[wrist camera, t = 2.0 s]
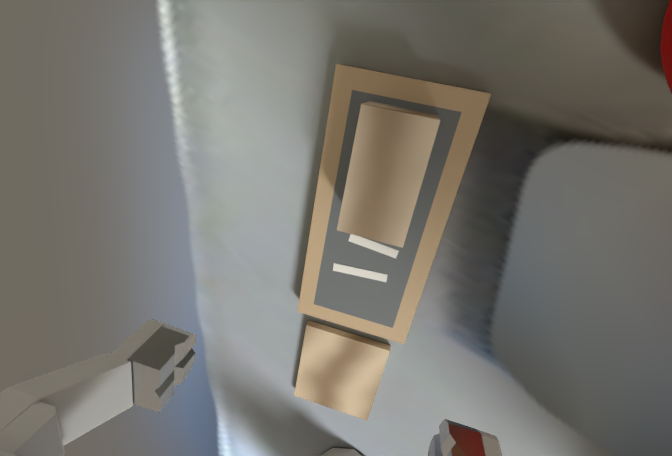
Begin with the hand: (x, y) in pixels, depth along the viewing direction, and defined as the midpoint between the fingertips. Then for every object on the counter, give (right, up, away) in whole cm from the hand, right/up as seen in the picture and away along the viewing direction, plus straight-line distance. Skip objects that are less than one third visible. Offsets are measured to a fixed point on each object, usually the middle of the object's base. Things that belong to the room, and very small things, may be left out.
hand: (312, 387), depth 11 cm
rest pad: (+1, -11, +28) cm, 30 cm away
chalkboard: (+4, +6, +19) cm, 21 cm away
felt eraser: (+5, +10, +16) cm, 19 cm away
